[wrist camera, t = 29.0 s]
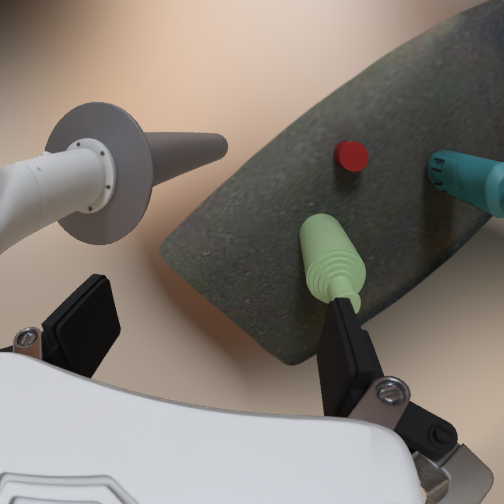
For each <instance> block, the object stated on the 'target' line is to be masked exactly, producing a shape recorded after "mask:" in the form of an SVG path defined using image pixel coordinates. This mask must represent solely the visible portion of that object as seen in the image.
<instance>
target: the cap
mask: <svg viewBox="0 0 504 504" xmlns="http://www.w3.org/2000/svg"><path fill="white" fill-rule="evenodd" d="M334 159H335V161H336V163H337V164H338V165H339V166H341V167H342V168H344V169H346V170H348V171H351V172H357V171H360V170H362V169H363V168H364V167H365V166H366V165H367V162H368V152H367V150H366V148H365V147H364V146H363V145H362V144H360V143H358V142H354V141H343V142H341V143H339V144H338V145H337V146H336V147H335V150H334Z"/></svg>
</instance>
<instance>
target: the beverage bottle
mask: <svg viewBox="0 0 504 504" xmlns="http://www.w3.org/2000/svg"><path fill="white" fill-rule="evenodd" d="M427 173H428V177H429V180H430V181H431V183H432V184H433V185H434V186H435V188H436V189H437V190H438V189H439V190H441V192H444V193H446V194H447V193H448V194H450V195H452V196H454V198H455V197H456V198H459V199H461V200H463V202H464V201H465V203H466V202H467V203H469V204H471V206H472V205H473V207H474V206H475V207H476V209H479V210H483V211H485V212H486V213H487V212H488V213H490V214H491V215H493V216H494V217H496V218H504V163H503V162H497V161H493V160H489V159H484V158H480V157H475V156H470V155H467V154H463V153H458V152H453V151H448V150H447V149H446V150H440V151H437V152H435V153H434V154H433V155H432V156H431V157H430V159H429V162H428V166H427ZM475 207H474V208H475Z"/></svg>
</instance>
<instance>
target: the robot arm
mask: <svg viewBox="0 0 504 504" xmlns="http://www.w3.org/2000/svg"><path fill="white" fill-rule="evenodd" d="M116 180H117V176H116V166H115V162H114V159H113V157H112V155H111V153H110V151H109V150H108V148H107V147H106V146H105V145H104V144H103V143H101V142H100V141H98V140H96V139H91V138H86V139H80V140H77V141H75V142H74V143H72V144H71V145H70V146H69V147H68V148H67V150H66V151H64V152H59V153H54V154H52V153H49V152H47V151H44V152H43V153H42V155H41V156H40V157H35V158H31V159H27V160H23V161H19V162H15V163H11V164H8V165H6V166H3V167H2V168H0V254H2V253H3V252H4V251H5V250H7V249H8V248H10V247H11V246H12V245H14V244H15V243H17V242H19V241H20V240H22V239H24V238H25V237H27V236H29V235H31V234H33V233H34V232H36V231H38V230H40V229H42V228H44V227H45V226H48V225H49V224H51V223H53V222H55V221H57V220H59V219H61V218H63V217H65V216H67V215H69V214H71V213H73V212H75V211H79V212H82V213H87V214H88V213H94V212H96V211H99V210H100V209H102V208H104V207H105V206H106V205H107V204H108V202H109V201H110V200H111V198H112V196H113V194H114V190H115V187H116ZM42 327H43V330H44V331H43V332H42V333H41V331H40V330H39V329H38V328H36V327H28V328H25V329H23V330H21V331H20V332H19V333H17V335H16V336H15V338H14V342H13V346H10V347H7V348H3V349H0V504H424V500H423V495H422V490H421V487H422V488H423V489H424V490H425V492H426V497H427V499H426V503H425V504H480V503H481V501H482V500H483V499H484V497H485V496H486V495H487V493H488V492H489V490H490V489H491V487H492V485H493V480H494V477H493V473H492V472H491V470H490V469H489V468H488V467H487V466H486V465H485V464H484V463H483V462H482V461H481V460H480V459H479V458H478V457H477V456H476V455H475V454H474V453H473V452H472V451H471V450H470V449H469V448H468V447H467V446H466V445H464V444H462V445H460V444H458V443H457V440H458V437H457V432H456V429H455V428H454V427H453V425H452V424H450V423H449V422H447V421H445V420H443V419H442V418H440V417H438V416H436V415H434V414H432V413H431V412H428V411H427V410H425V409H423V408H422V407H420V406H418V405H416V404H414V403H413V402H411V401H409V400H410V396H411V393H410V389H409V387H408V386H407V384H406V383H404V382H403V381H402V380H400V379H399V378H396V377H393V376H384V374H383V371H382V368H381V366H380V363H379V360H378V357H377V355H376V352H375V349H374V347H373V344H372V341H371V339H370V336H369V334H368V332H367V331H366V330H362V329H361V326H360V324H359V321H358V318H357V316H356V313H355V311H354V308H353V306H352V303H351V301H350V299H349V298H342V297H335V299H334V301H330V302H329V305H328V309H327V314H326V318H325V322H324V326H323V330H322V334H321V338H320V342H319V346H318V350H317V363H318V370H319V377H320V385H321V393H322V401H323V409H324V416H307V415H283V414H268V413H256V412H245V411H236V410H235V411H234V410H227V409H219V408H212V407H206V406H199V405H194V404H188V403H182V402H177V401H172V400H167V399H163V398H158V397H154V396H150V395H146V394H141V393H138V392H134V391H130V390H126V389H123V388H119V387H116V386H112V385H109V384H105V383H102V382H99V381H96V380H93V379H91V377H92V376H93V374H94V373H95V371H96V370H97V368H98V366H99V365H100V363H101V362H102V360H103V359H104V357H105V356H106V354H107V353H108V351H109V349H110V348H111V346H112V345H113V343H114V342H115V340H116V339H117V337H118V336H119V334H120V330H121V327H120V323H119V319H118V316H117V311H116V307H115V303H114V299H113V294H112V290H111V285H110V281H109V280H108V279H107V278H106V276H105V275H99V274H93V275H91V276H90V277H89V278H88V279H87V280H86V281H85V282H84V283H83V284H82V285H81V286H79V287H78V288H77V289H76V290H75V291H74V292H73V293H72V294H71V295H70V296H69V297H68V298H67V299H66V300H65V301H64V302H63V303H62V304H61V305H60V306H59V307H58V308H57V309H56V310H55V311H54V312H53V313H52V314H51V315H50V316H49V317H48V318H47V319H46V320H45V321H44V322H43V323H42ZM419 480H420V481H421V483H420V481H419Z"/></svg>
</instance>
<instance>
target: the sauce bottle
mask: <svg viewBox="0 0 504 504" xmlns="http://www.w3.org/2000/svg"><path fill="white" fill-rule="evenodd" d="M299 238H300V244H301V250H302V256H303V262H304V269H305V275H306V282H307V286H308V289H309V290H310V292H311V293H312V295H313V296H315V297H316V298H317V299H319V300H321V301H323V302H325V303H329V302H330V301H334V299H335V297H342V298H349V299H350V301H351V303H352V306H353V308H354V311H355V313H358V311H359V310H360V305H361V303H360V301H361V300H360V297H359V295H358V294H357V293H358V292H359V291H360V290H361V288H362V286H363V284H364V281H365V276H366V270H365V266H364V263H363V261H362V259H361V258H360V256H359V254H358V253H357V251H356V249H355V248H354V246H353V244H352V243H351V241H350V239H349V238H348V236H347V235H346V233H345V231H344V230H343V228H342V227H341V225H340V224H339V222H338V221H337V220H336V219H335V218H334V217H332V216H330V215H327V214H316V215H313V216H311V217H309V218H308V219H307V220H306V221H305V222H304V223H303V224H302V226H301V229H300V233H299Z"/></svg>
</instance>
